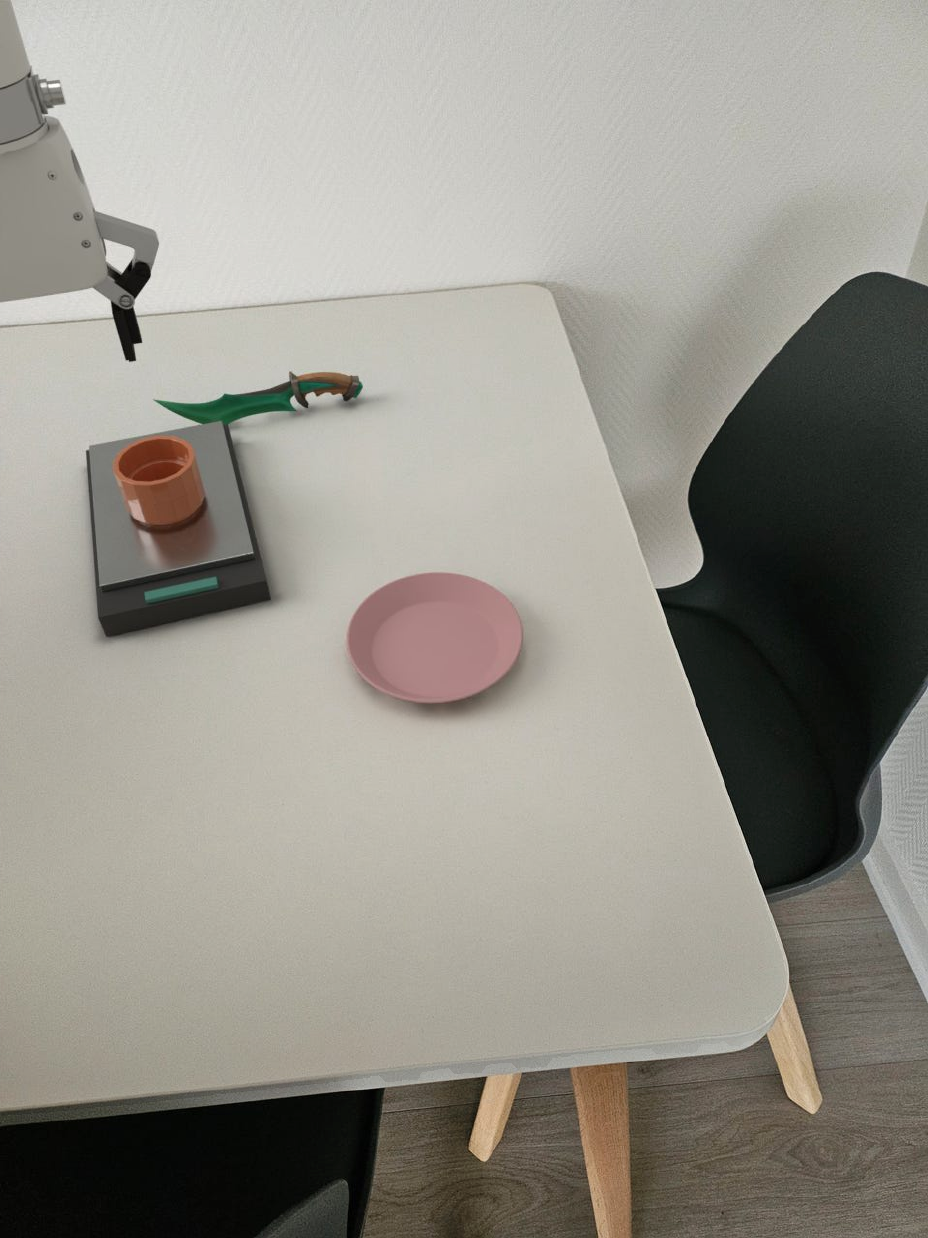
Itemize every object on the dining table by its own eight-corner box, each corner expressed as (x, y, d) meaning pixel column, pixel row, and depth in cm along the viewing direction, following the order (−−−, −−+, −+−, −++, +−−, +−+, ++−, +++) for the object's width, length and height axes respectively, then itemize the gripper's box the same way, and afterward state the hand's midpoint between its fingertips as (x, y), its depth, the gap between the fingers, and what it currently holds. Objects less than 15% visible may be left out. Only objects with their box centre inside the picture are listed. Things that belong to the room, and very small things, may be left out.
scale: (106, 637, 83) (95, 610, 81) (92, 469, 99) (83, 443, 96) (271, 599, 86) (264, 573, 83) (232, 442, 101) (226, 416, 99)
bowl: (131, 536, 87) (115, 491, 83) (125, 488, 91) (110, 444, 88) (210, 519, 88) (198, 475, 85) (201, 473, 93) (189, 429, 89)
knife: (361, 394, 107) (357, 354, 103) (365, 403, 106) (361, 362, 102) (163, 434, 103) (151, 393, 99) (165, 444, 101) (153, 403, 98)
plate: (319, 690, 78) (316, 674, 77) (390, 573, 88) (388, 556, 86) (489, 738, 75) (489, 722, 73) (544, 610, 84) (544, 594, 83)
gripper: (119, 75, 63) (177, 319, 76) (-173, 106, 60) (-62, 357, 72) (128, 114, 58) (189, 369, 70) (-191, 151, 55) (-69, 413, 67)
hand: (62, 363), depth 71 cm, fingers open, 9 cm apart
